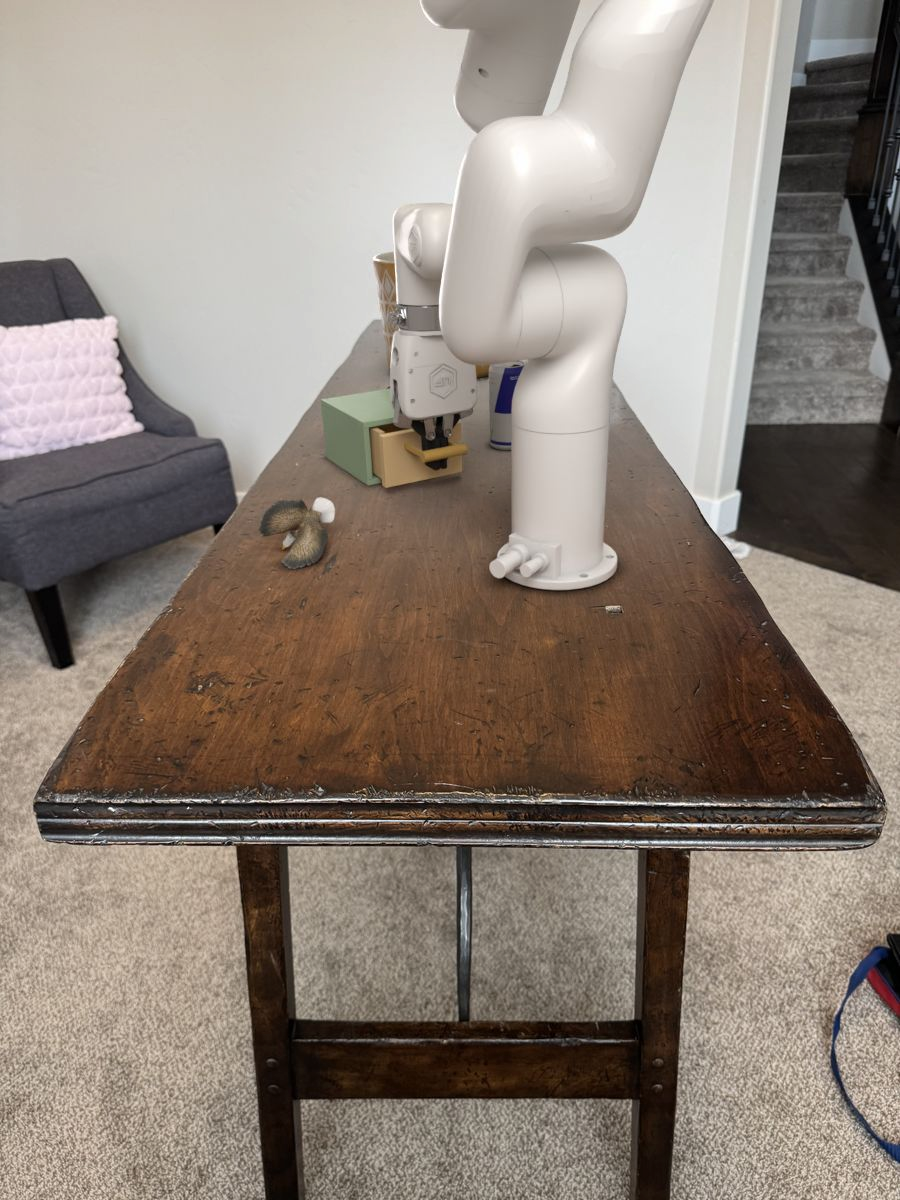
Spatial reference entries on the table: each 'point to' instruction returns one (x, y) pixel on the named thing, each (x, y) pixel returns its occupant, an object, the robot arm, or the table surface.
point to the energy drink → (502, 401)
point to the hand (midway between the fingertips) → (435, 466)
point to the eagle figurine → (299, 528)
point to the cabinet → (355, 430)
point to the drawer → (411, 455)
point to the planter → (395, 302)
